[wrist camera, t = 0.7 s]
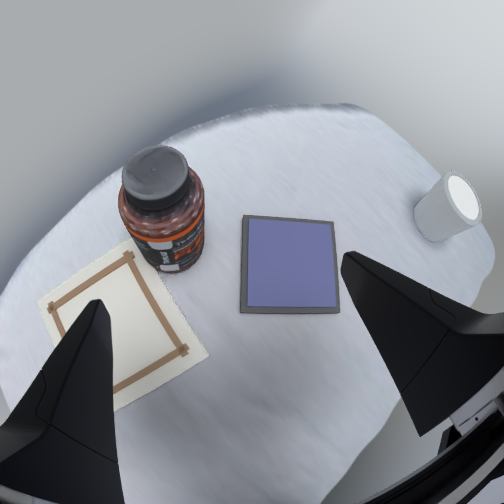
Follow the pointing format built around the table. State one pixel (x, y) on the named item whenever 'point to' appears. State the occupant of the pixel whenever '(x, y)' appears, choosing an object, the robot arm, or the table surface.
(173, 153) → the supplement bottle
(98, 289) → the marked sheet
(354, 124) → the table surface
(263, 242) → the ink pad
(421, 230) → the white short cylinder
